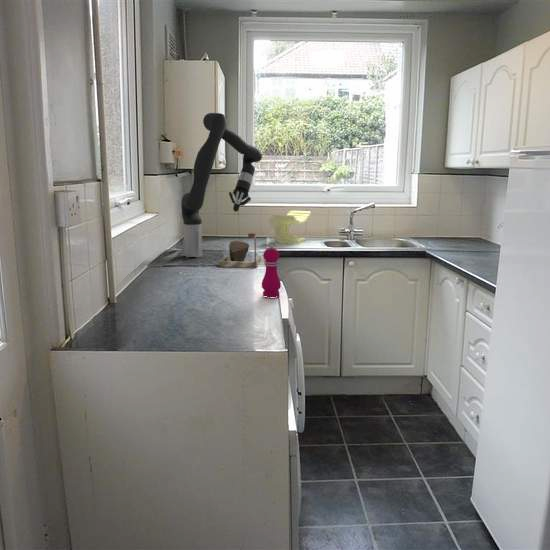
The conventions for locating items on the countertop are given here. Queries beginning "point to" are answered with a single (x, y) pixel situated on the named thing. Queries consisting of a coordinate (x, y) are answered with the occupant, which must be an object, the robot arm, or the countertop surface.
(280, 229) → the slatted curved stool
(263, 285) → the pepper mill
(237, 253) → the rock
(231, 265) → the corral
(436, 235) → the countertop surface
